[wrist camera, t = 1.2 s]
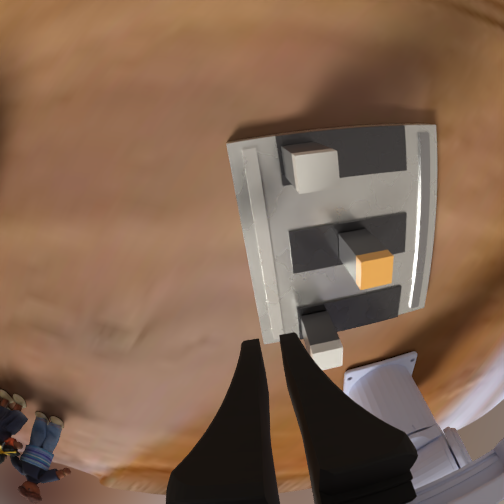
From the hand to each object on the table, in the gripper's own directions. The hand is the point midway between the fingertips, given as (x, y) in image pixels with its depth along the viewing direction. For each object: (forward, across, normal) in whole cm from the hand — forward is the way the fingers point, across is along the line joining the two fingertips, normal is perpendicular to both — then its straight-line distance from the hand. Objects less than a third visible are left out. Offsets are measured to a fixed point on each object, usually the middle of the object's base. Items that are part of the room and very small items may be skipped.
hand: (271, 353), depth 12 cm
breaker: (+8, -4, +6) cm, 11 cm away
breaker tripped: (+8, -7, 0) cm, 11 cm away
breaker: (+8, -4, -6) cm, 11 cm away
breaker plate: (+10, -6, 0) cm, 12 cm away
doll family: (+10, +38, +18) cm, 43 cm away
